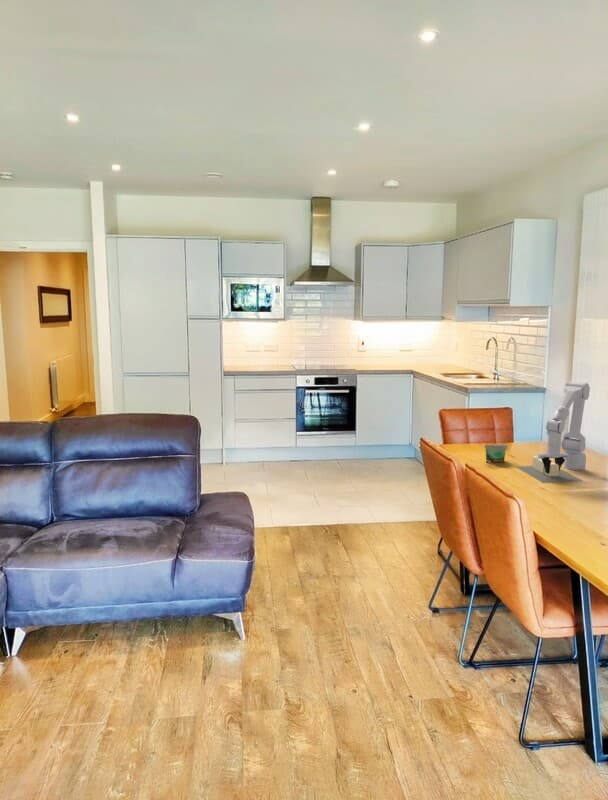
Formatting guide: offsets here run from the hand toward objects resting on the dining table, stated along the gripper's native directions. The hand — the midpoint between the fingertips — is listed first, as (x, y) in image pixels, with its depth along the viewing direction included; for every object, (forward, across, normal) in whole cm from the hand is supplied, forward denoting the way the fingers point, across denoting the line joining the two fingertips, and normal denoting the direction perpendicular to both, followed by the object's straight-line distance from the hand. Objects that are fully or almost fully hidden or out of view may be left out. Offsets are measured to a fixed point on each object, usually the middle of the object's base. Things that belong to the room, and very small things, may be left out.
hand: (551, 472), depth 262 cm
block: (+1, 0, 0) cm, 1 cm away
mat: (+2, 0, +3) cm, 4 cm away
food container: (+2, -15, +25) cm, 30 cm away
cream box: (+1, 0, +9) cm, 9 cm away
